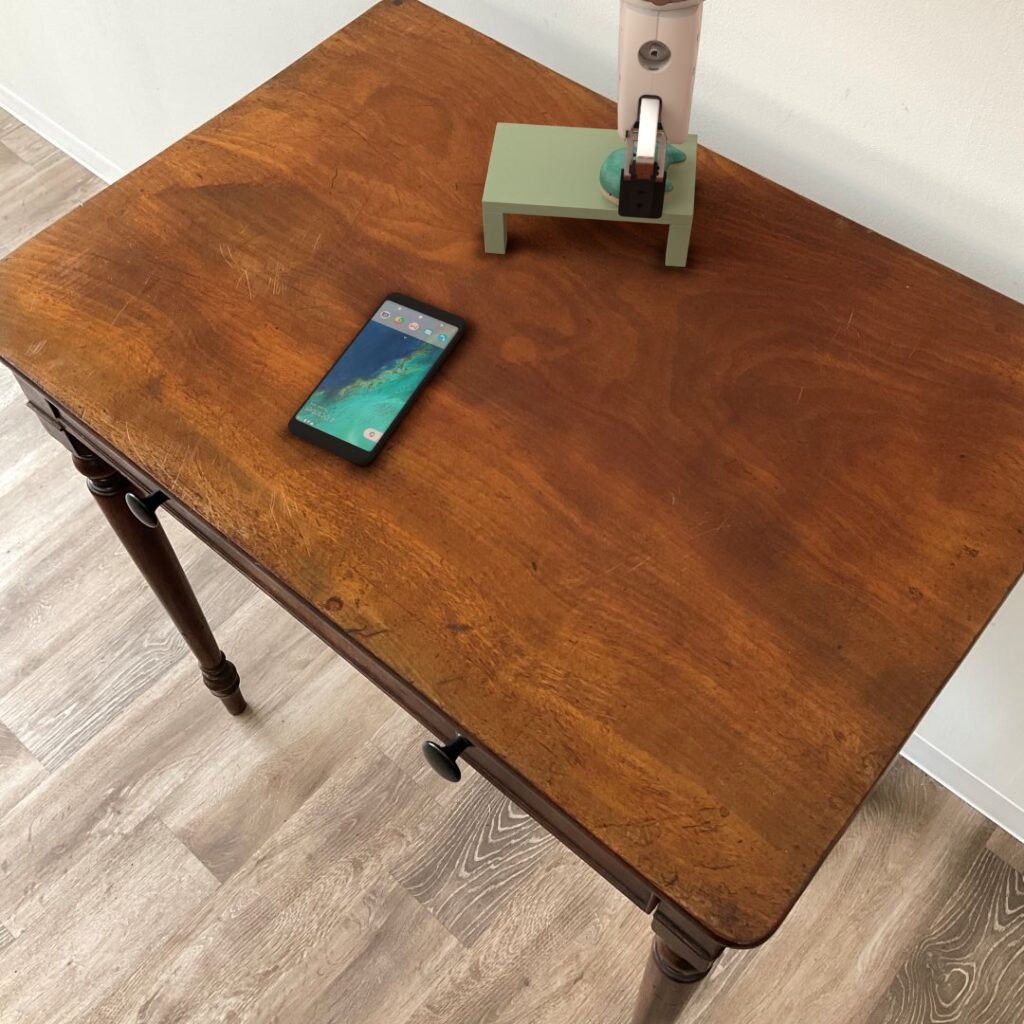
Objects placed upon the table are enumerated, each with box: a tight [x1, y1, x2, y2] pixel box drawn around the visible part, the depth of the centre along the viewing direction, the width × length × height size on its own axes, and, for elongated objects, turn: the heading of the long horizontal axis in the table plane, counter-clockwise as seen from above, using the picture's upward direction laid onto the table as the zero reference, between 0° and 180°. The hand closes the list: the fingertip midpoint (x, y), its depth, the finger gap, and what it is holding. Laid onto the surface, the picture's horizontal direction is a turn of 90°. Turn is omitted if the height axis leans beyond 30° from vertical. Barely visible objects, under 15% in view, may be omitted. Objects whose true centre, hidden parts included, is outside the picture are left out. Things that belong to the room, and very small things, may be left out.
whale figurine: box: [599, 142, 687, 206], centre depth 83 cm, size 6×7×4 cm
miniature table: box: [481, 122, 699, 268], centre depth 88 cm, size 16×9×6 cm, turn 83°
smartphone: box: [287, 291, 468, 465], centre depth 82 cm, size 7×1×15 cm
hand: (643, 169), depth 83 cm, fingers open, 9 cm apart
